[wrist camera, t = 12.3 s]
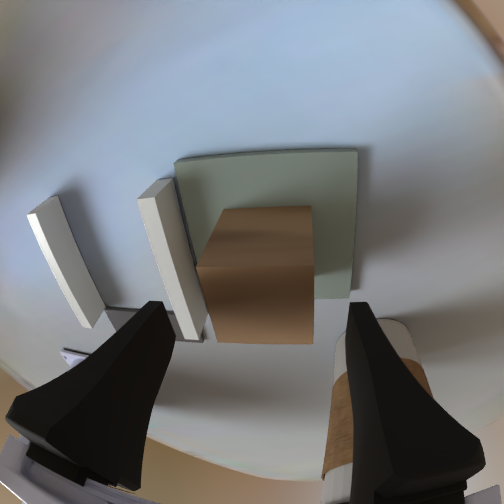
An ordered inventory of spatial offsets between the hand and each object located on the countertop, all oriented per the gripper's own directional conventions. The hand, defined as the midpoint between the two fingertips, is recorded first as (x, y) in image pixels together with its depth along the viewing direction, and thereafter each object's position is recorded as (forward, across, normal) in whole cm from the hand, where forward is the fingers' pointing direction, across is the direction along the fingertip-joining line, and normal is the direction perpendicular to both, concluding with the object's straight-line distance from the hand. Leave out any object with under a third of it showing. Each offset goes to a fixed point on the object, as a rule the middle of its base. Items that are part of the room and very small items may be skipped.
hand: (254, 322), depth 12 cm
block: (+6, 0, 0) cm, 6 cm away
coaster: (+7, 0, 0) cm, 7 cm away
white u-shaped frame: (+7, +10, +3) cm, 12 cm away
